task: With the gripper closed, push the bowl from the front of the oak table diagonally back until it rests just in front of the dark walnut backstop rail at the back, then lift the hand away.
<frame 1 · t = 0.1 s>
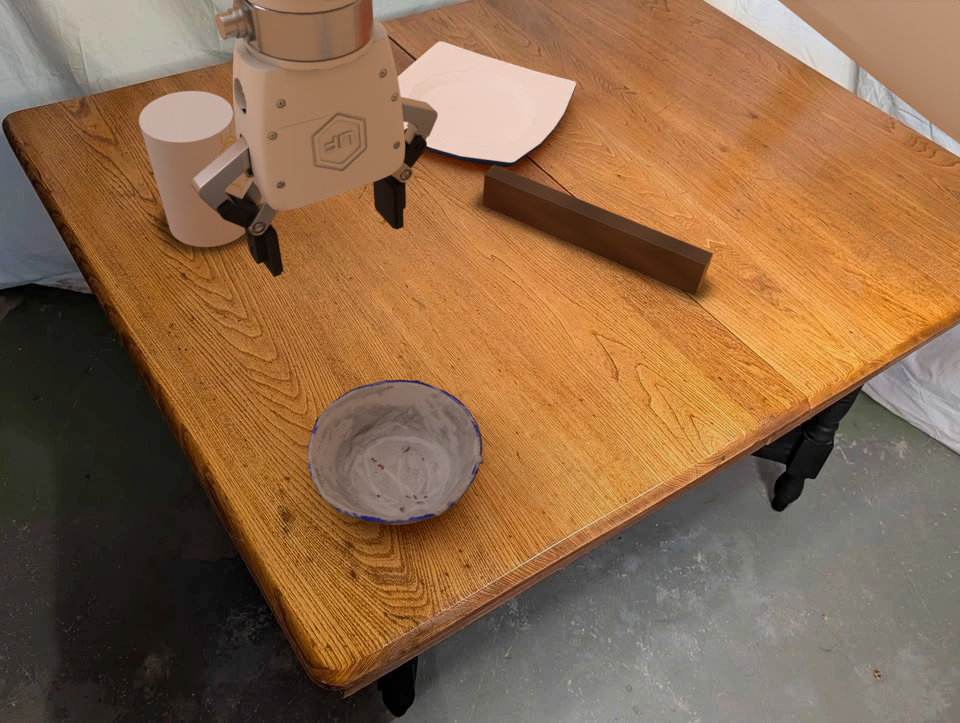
hand: (331, 240, 62), 15 cm above the table, tool pointing down, fingers open, 9 cm apart
bowl: (398, 481, 67), on the table
rail: (588, 243, 86), on the table
pink tall cylinder: (211, 221, 85), on the table
plate: (472, 118, 100), on the table
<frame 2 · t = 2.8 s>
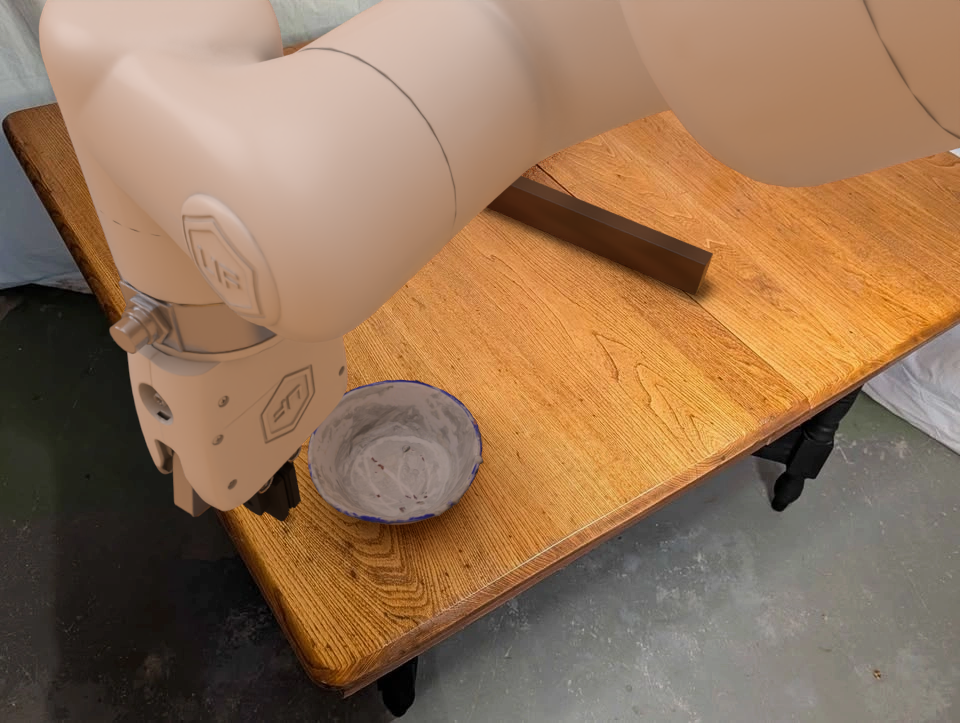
hand: (271, 500, 50), 13 cm above the table, tool pointing down, fingers closed
nothing on the table moved.
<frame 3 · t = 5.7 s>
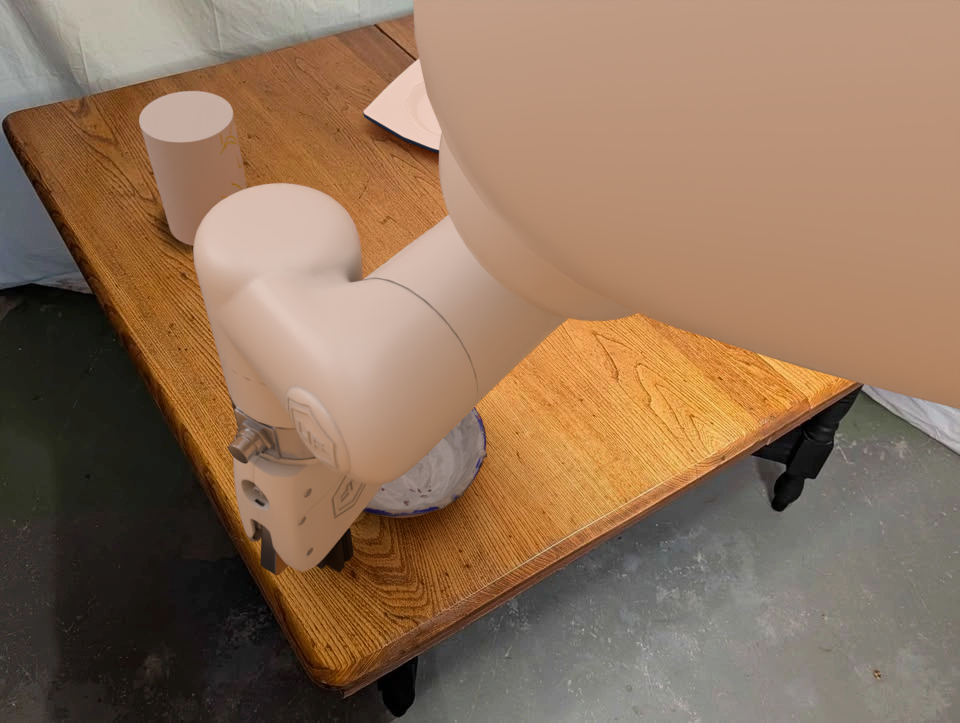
hand: (329, 554, 61), 1 cm above the table, tool pointing down, fingers closed
bowl: (402, 475, 67), on the table, touching gripper
everything else where it was.
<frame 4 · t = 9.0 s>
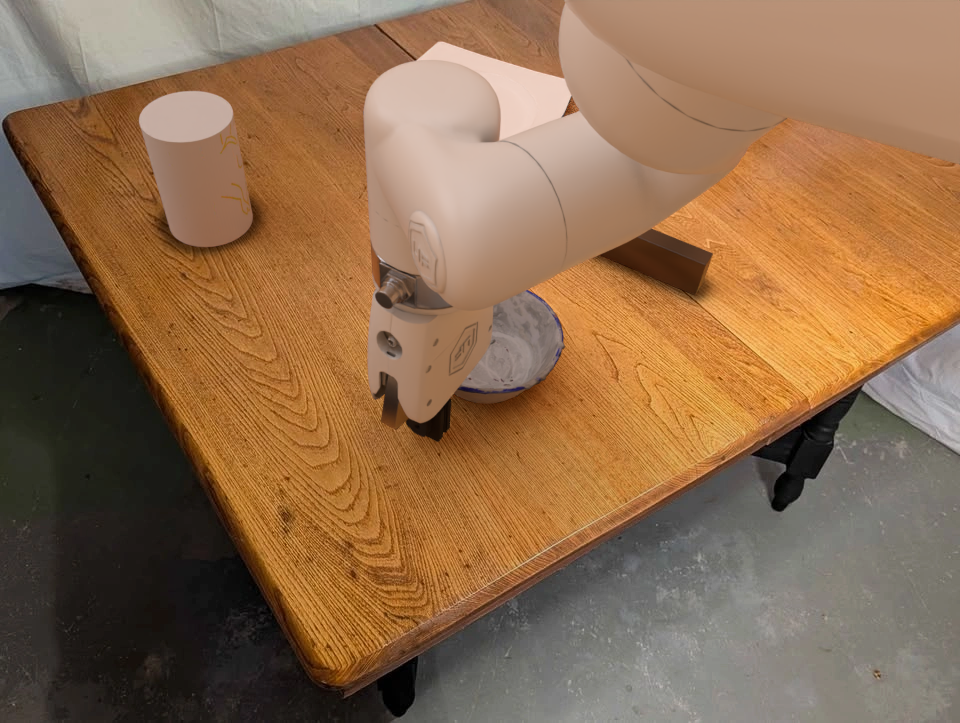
hand: (427, 427, 68), 1 cm above the table, tool pointing down, fingers closed
bowl: (484, 369, 74), on the table, touching gripper
everything else where it was.
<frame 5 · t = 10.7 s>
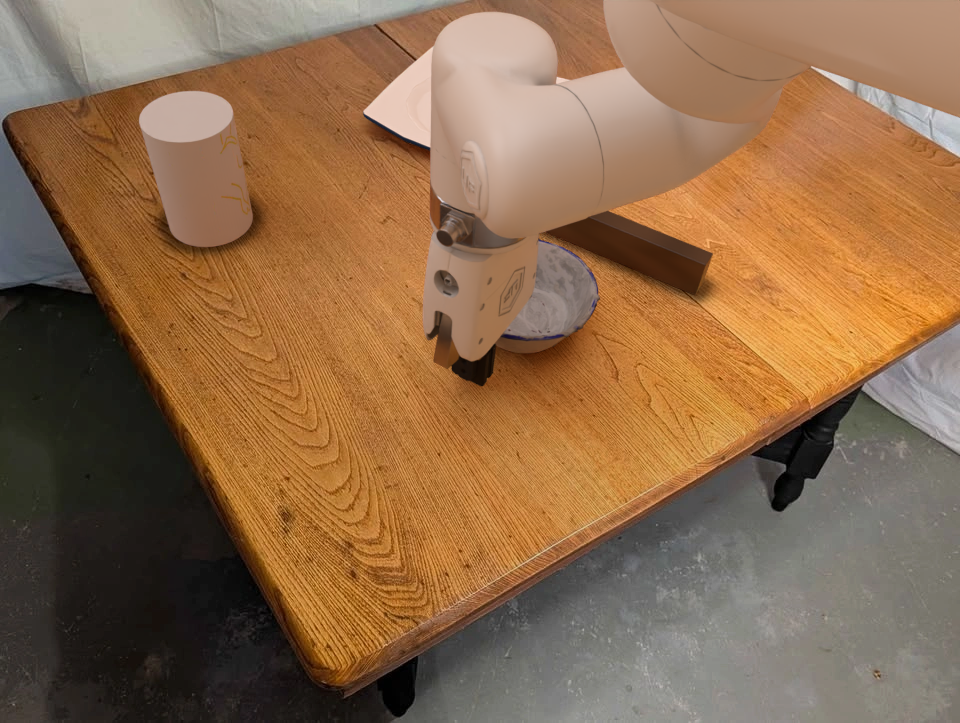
hand: (472, 373, 72), 1 cm above the table, tool pointing down, fingers closed
bowl: (522, 322, 78), on the table, touching gripper
everything else where it was.
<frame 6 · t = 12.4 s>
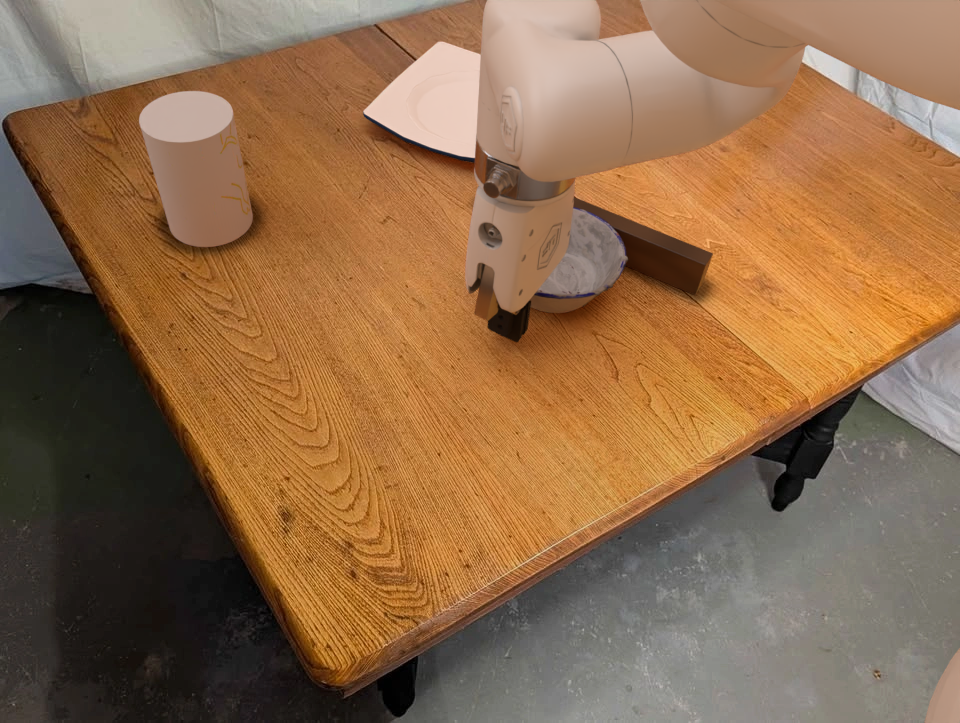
hand: (507, 330, 76), 1 cm above the table, tool pointing down, fingers closed
bowl: (552, 285, 82), on the table, touching gripper, rail
everything else where it was.
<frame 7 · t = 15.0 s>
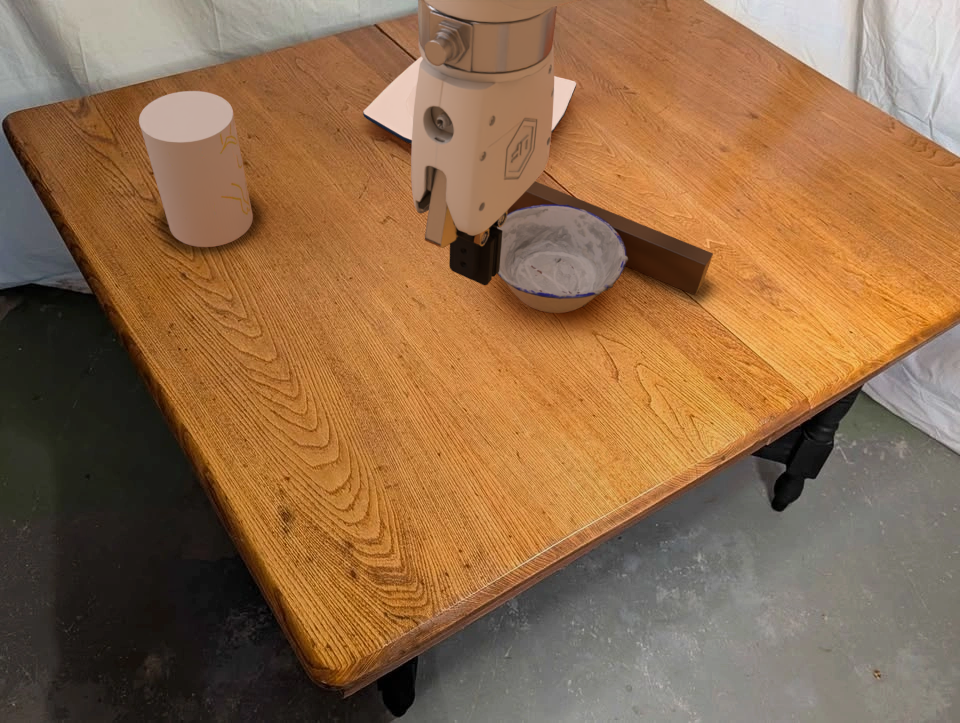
hand: (474, 271, 60), 15 cm above the table, tool pointing down, fingers closed
bowl: (552, 285, 82), on the table, touching rail
everything else where it was.
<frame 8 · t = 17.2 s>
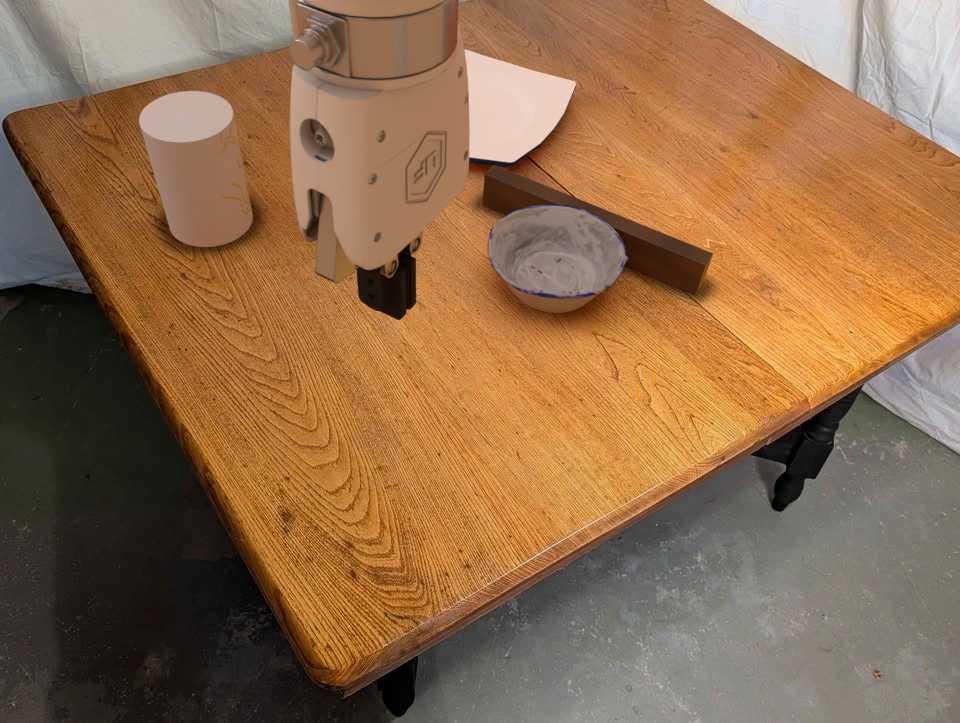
hand: (387, 303, 52), 19 cm above the table, tool pointing down, fingers closed
bowl: (552, 285, 82), on the table
everything else where it was.
at the end: bowl inside the target area on the table beside the rail (1.0 cm from its centre), on the table; bowl moved 26.4 cm from its start; bowl tilted 0° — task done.
